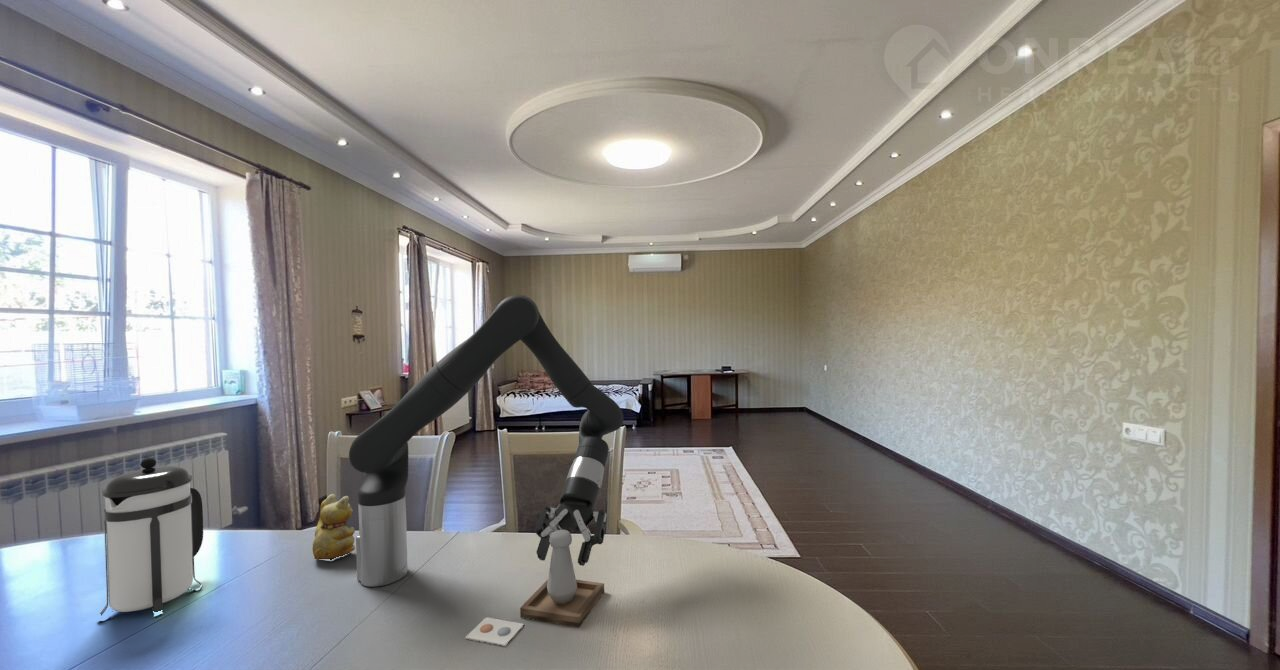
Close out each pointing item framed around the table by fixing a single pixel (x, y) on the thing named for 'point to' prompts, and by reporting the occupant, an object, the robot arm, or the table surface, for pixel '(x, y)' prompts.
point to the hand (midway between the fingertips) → (560, 561)
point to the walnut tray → (568, 613)
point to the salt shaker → (561, 569)
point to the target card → (494, 631)
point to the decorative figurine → (333, 529)
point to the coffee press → (150, 536)
